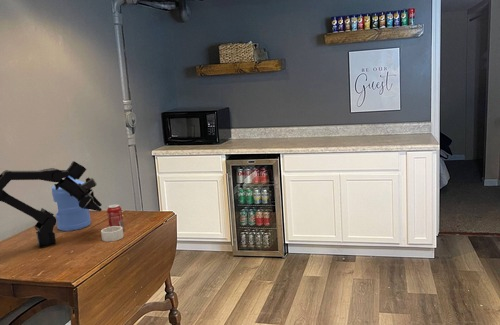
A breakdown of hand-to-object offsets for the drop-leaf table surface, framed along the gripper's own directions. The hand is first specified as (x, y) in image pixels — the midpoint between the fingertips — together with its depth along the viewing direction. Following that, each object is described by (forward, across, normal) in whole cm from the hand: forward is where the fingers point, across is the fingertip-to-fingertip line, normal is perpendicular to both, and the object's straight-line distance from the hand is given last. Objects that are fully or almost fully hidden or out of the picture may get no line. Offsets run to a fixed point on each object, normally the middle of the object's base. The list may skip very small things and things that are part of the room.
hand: (101, 207), depth 219 cm
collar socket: (+11, -10, +6) cm, 16 cm away
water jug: (-2, +19, +18) cm, 26 cm away
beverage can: (+12, 0, +5) cm, 13 cm away
